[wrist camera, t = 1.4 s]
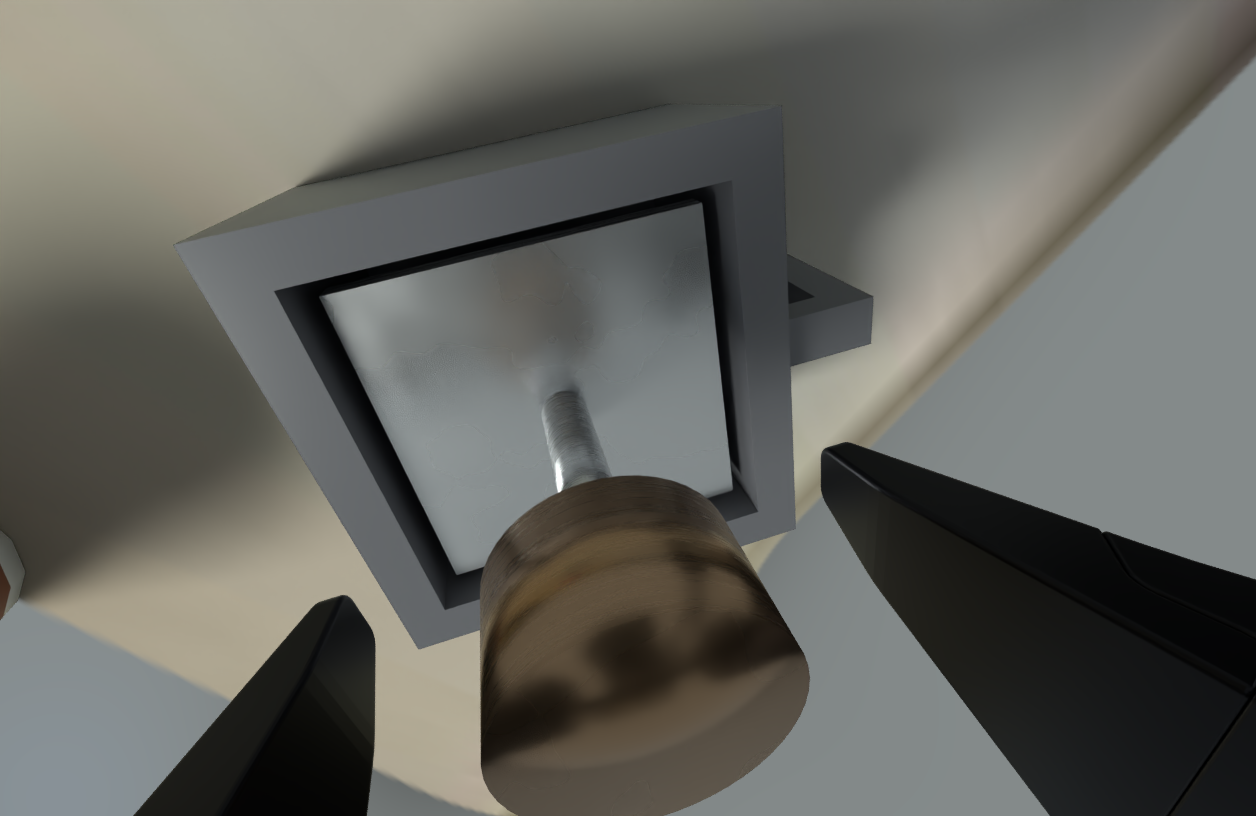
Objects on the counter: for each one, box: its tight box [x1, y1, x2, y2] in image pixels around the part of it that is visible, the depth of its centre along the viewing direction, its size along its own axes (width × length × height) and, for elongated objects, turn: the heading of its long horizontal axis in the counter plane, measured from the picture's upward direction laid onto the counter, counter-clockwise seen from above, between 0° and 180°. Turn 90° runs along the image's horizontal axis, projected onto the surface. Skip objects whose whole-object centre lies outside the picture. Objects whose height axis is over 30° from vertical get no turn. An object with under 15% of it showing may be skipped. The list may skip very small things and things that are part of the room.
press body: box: [173, 104, 873, 649], centre depth 14 cm, size 12×10×6 cm
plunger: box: [319, 198, 810, 816], centre depth 9 cm, size 7×7×8 cm
